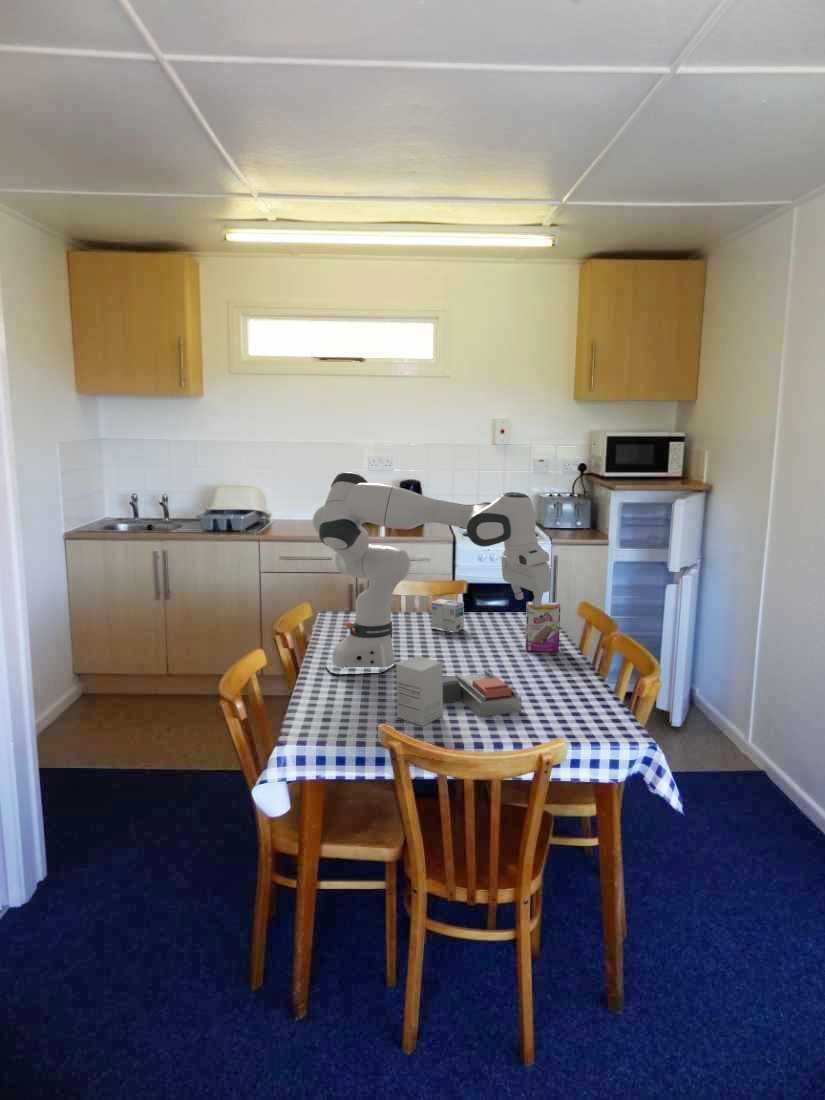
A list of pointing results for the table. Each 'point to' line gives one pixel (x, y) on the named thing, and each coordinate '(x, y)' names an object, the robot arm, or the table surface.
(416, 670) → the supplement box
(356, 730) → the table surface
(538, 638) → the candy bar box
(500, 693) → the red stepped block
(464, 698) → the socket
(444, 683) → the plug
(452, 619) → the light bulb box
